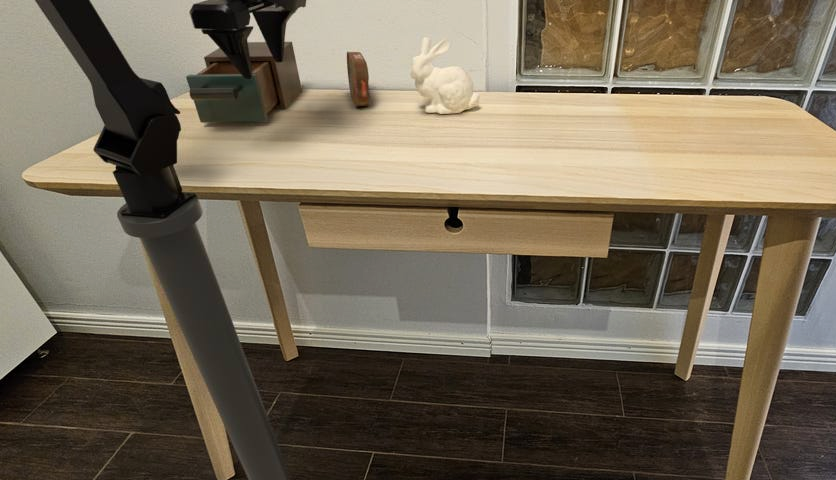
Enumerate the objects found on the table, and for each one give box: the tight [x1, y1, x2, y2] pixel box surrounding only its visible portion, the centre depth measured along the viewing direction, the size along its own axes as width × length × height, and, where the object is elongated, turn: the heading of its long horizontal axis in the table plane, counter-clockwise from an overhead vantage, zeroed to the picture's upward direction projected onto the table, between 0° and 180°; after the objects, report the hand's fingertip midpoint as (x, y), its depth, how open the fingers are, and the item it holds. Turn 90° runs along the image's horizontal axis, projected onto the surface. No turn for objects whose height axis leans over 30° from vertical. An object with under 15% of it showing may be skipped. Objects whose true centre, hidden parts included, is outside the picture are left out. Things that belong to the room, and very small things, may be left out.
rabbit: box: [410, 36, 480, 115], centre depth 97 cm, size 12×9×12 cm
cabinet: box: [203, 41, 303, 111], centre depth 103 cm, size 12×13×10 cm
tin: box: [346, 51, 371, 108], centre depth 103 cm, size 15×3×8 cm, turn 17°
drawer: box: [185, 61, 279, 123], centre depth 93 cm, size 15×11×8 cm
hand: (264, 70), depth 79 cm, fingers open, 9 cm apart
